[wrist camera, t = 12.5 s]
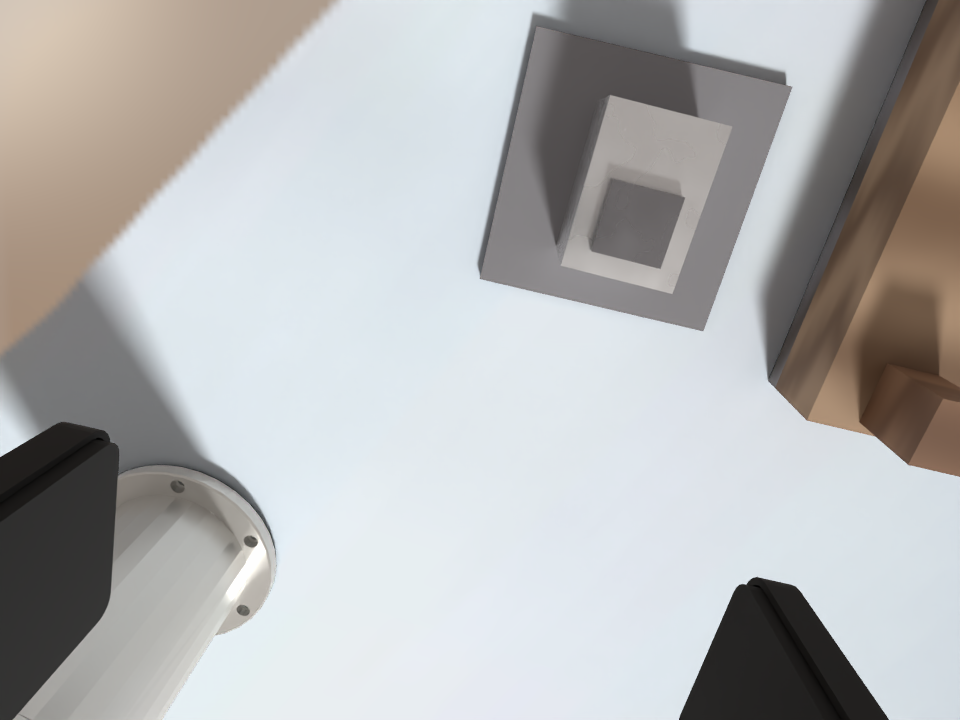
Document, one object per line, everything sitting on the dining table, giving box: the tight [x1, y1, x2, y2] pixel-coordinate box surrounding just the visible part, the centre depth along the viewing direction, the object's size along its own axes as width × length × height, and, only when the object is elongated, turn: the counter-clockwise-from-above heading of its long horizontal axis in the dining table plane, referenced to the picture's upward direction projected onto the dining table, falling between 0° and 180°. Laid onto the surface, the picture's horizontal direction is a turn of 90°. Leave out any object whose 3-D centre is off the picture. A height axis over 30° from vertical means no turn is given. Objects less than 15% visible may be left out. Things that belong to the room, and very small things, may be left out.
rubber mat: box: [480, 26, 792, 331], centre depth 31 cm, size 12×12×1 cm
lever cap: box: [556, 95, 733, 294], centre depth 28 cm, size 7×5×6 cm
